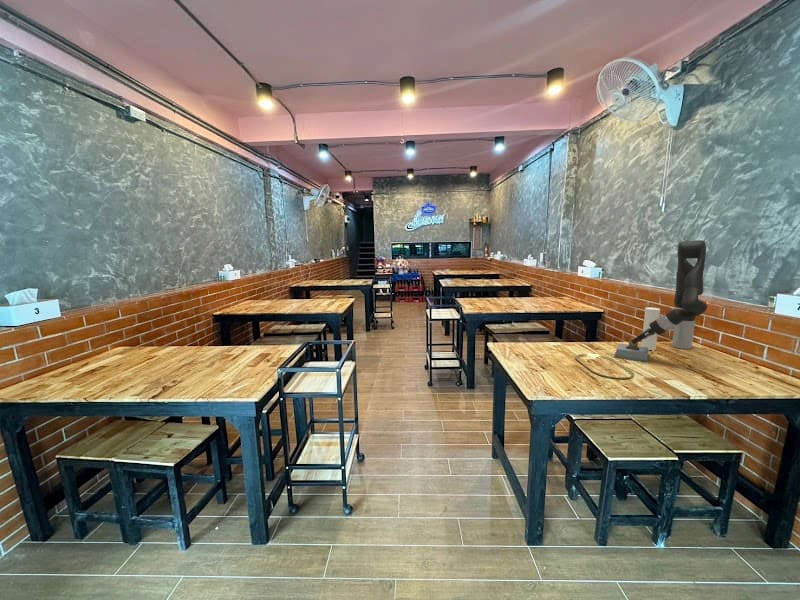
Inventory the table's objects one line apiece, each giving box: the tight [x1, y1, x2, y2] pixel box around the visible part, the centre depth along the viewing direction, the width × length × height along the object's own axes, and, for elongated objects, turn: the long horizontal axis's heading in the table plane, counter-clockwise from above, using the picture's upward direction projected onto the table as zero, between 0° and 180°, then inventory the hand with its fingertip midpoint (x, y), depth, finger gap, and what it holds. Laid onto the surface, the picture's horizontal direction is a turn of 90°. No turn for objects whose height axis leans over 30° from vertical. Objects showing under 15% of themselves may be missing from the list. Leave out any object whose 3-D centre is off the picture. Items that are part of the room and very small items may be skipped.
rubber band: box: [574, 353, 635, 380], centre depth 174 cm, size 19×35×2 cm, turn 176°
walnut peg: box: [628, 337, 639, 350], centre depth 189 cm, size 4×4×10 cm
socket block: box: [613, 343, 651, 363], centre depth 189 cm, size 16×16×5 cm
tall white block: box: [640, 307, 661, 351], centre depth 200 cm, size 7×7×25 cm
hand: (635, 340), depth 188 cm, fingers open, 8 cm apart
